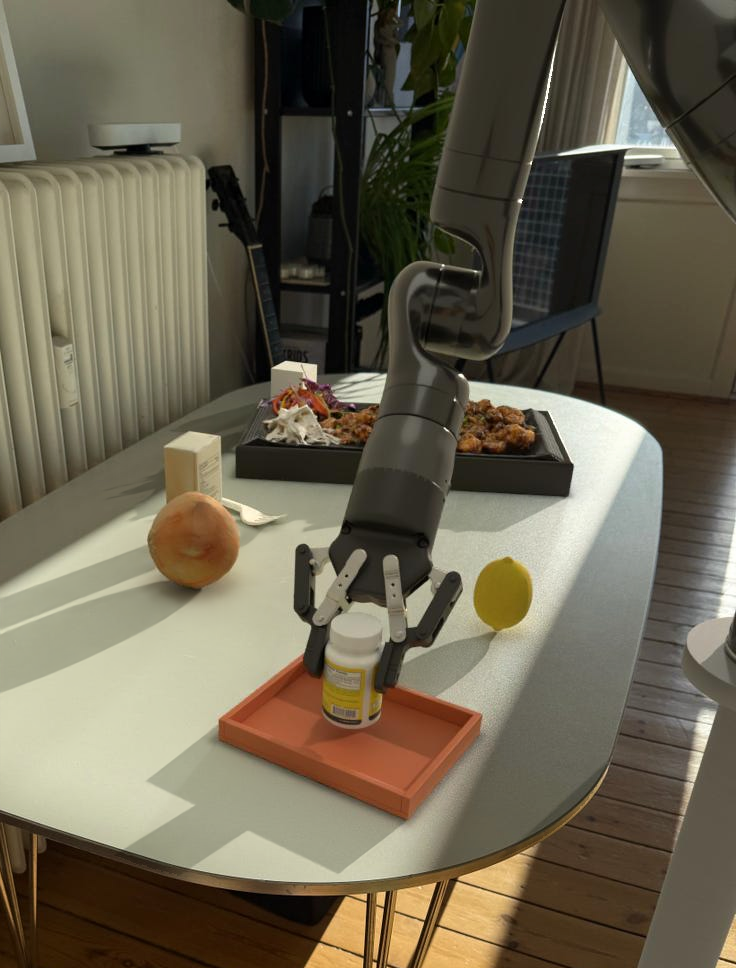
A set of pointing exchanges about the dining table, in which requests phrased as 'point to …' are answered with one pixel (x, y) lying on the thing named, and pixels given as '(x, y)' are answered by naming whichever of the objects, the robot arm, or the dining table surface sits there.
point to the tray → (354, 739)
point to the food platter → (347, 426)
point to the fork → (249, 513)
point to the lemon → (503, 593)
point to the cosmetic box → (193, 465)
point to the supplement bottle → (352, 671)
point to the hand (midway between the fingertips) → (346, 682)
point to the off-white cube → (291, 376)
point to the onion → (194, 540)
